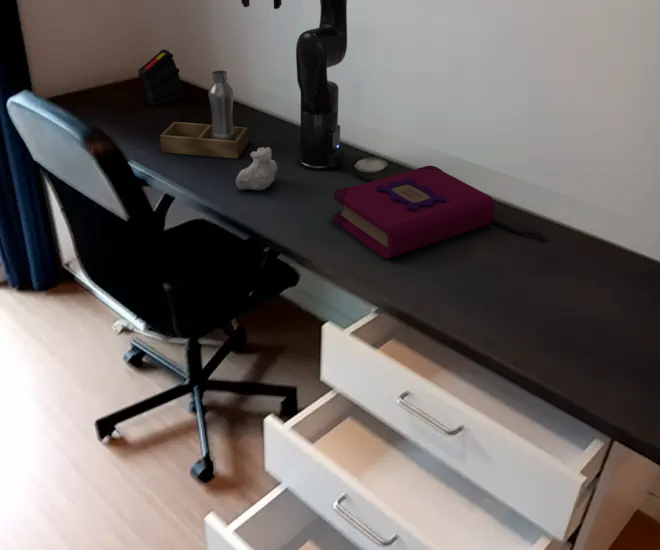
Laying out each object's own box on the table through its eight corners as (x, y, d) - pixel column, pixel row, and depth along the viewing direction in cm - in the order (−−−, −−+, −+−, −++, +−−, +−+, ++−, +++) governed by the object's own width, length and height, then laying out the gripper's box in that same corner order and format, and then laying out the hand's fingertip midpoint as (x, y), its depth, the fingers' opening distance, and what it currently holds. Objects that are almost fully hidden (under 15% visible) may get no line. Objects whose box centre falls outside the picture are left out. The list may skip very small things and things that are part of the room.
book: (491, 227, 155) (496, 196, 151) (389, 263, 142) (392, 229, 138) (428, 191, 170) (431, 162, 166) (330, 220, 156) (331, 188, 152)
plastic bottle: (207, 151, 187) (201, 74, 176) (218, 142, 193) (213, 67, 182) (230, 154, 185) (225, 77, 175) (240, 145, 191) (236, 70, 180)
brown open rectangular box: (248, 143, 193) (247, 127, 190) (237, 158, 184) (237, 142, 181) (175, 137, 195) (173, 121, 193) (161, 152, 186) (159, 135, 184)
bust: (241, 203, 167) (260, 177, 158) (223, 177, 168) (241, 150, 159) (278, 188, 175) (298, 162, 166) (260, 163, 176) (279, 136, 167)
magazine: (191, 90, 224) (170, 50, 213) (162, 117, 219) (139, 78, 208) (184, 88, 226) (163, 48, 215) (154, 114, 222) (131, 75, 210)
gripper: (225, -62, 175) (230, 8, 183) (279, -61, 171) (281, 11, 179) (239, -64, 182) (243, 4, 189) (291, -63, 177) (292, 7, 185)
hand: (261, 7), depth 184 cm, fingers open, 8 cm apart
